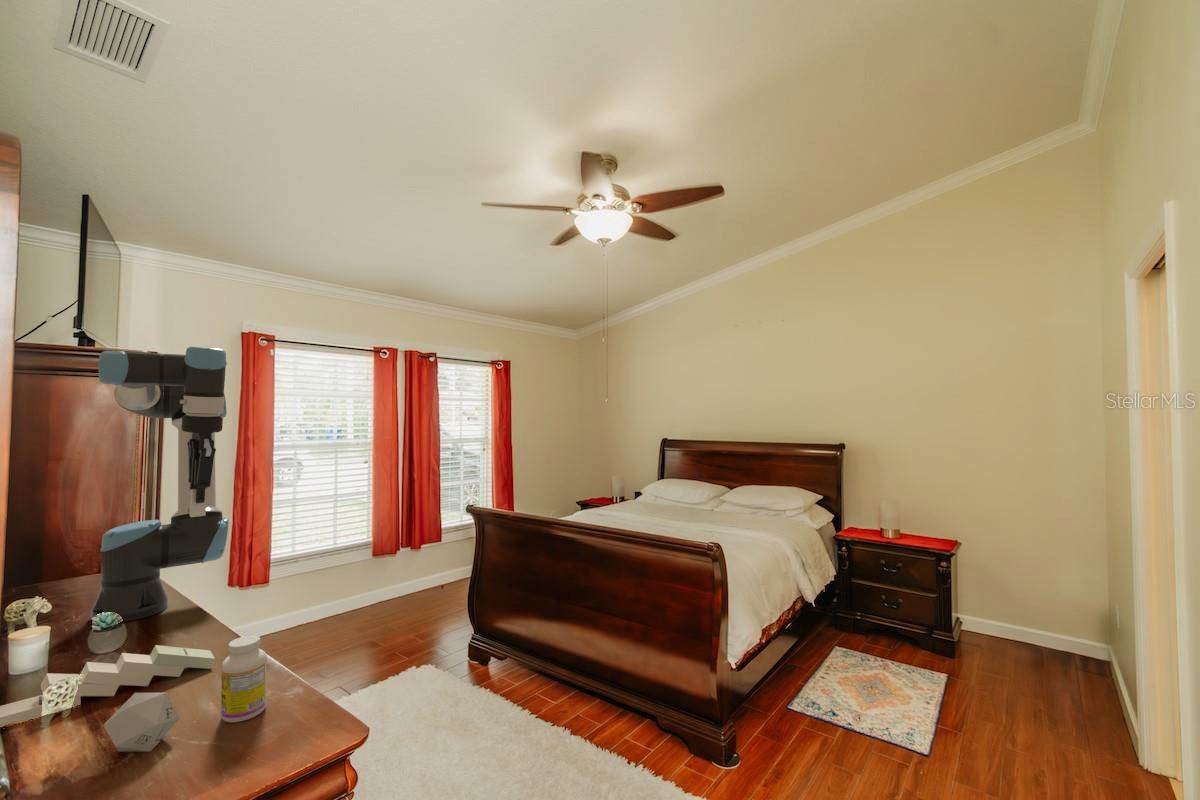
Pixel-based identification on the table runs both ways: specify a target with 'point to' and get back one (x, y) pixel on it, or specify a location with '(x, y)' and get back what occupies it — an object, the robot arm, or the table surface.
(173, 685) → the table surface
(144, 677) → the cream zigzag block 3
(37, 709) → the domino
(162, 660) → the domino
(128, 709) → the die
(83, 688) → the domino
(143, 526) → the robot arm
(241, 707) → the supplement bottle
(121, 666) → the domino
